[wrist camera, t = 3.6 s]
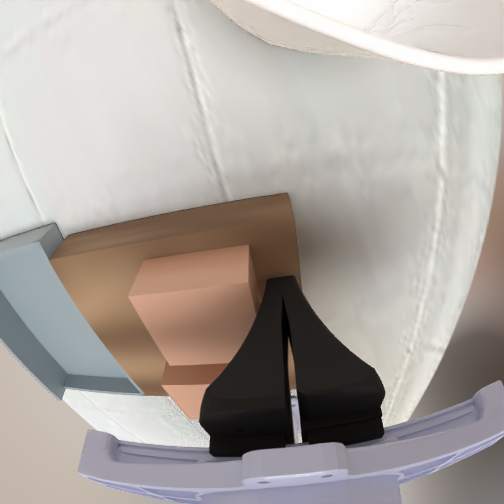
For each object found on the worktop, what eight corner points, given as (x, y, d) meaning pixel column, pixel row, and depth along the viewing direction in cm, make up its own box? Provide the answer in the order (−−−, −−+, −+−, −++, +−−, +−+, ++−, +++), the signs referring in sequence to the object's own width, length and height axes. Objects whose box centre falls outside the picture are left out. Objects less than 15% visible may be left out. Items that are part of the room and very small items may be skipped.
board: (305, 360, 22) (309, 387, 20) (151, 371, 24) (146, 395, 22) (287, 192, 14) (294, 217, 12) (67, 235, 16) (48, 260, 14)
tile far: (259, 386, 20) (260, 416, 18) (193, 390, 21) (189, 419, 19) (246, 346, 17) (246, 382, 15) (168, 351, 18) (160, 384, 16)
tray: (151, 377, 24) (144, 410, 21) (67, 372, 25) (57, 399, 22) (55, 223, 15) (25, 257, 12) (-24, 249, 16) (-47, 275, 13)
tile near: (265, 321, 16) (267, 359, 14) (177, 329, 16) (170, 365, 14) (248, 244, 13) (248, 282, 11) (143, 259, 14) (128, 296, 12)
